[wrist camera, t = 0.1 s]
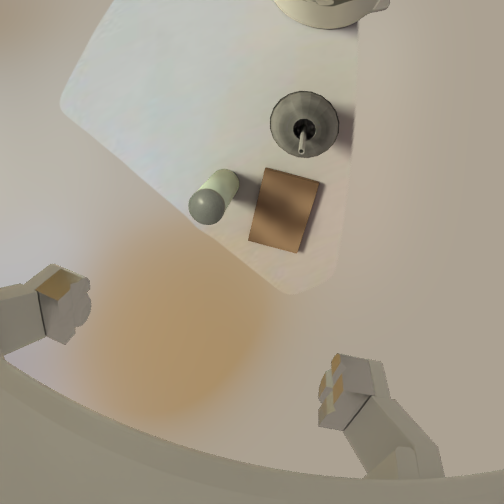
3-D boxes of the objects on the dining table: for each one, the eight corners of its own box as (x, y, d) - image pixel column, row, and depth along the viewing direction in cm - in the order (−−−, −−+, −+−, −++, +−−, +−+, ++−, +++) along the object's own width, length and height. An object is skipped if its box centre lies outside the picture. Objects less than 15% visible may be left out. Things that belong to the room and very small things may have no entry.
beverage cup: (335, 96, 39) (359, 105, 22) (324, 145, 43) (338, 189, 26) (283, 84, 39) (266, 84, 22) (274, 133, 43) (251, 170, 26)
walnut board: (265, 167, 46) (265, 169, 45) (318, 181, 46) (319, 183, 45) (249, 237, 52) (248, 240, 51) (297, 250, 52) (296, 253, 51)
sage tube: (212, 165, 47) (190, 186, 38) (242, 172, 47) (226, 195, 38) (208, 193, 49) (186, 219, 41) (236, 200, 49) (220, 228, 41)
